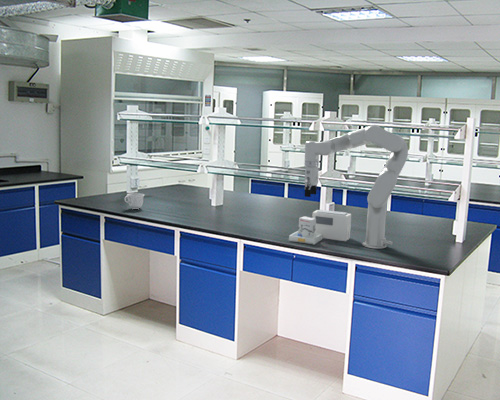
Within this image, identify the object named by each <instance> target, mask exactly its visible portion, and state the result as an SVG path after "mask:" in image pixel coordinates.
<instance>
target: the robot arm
mask: <svg viewBox="0 0 500 400" xmlns="http://www.w3.org/2000/svg"><path fill="white" fill-rule="evenodd" d="M368 144H374V145H376V146H378V147H380V148H382V149H385V150H386V151H389V152H390V155H389V156H388V159H387V160H386V164H385V165H384V166H383V168H382V170H381V171H380V172H379V173H378V176H377V177H376V179H375V181H374V184H373V185H372V188H371V189H370V191H369V192H368V195H367V199H366V200H367V203H368V204H367V216H366V230H365V232H366V233H365V241H362V243H361V244H362V246H363V247H364V248H368V249H375V250H376V249H377V250H378V249H379V250H381V249H385V248H386V249H387V245H389V246H392V245H393V241H391V240H387V238H386V237H385V233H386V220H387V219H386V218H387V207H388V199H389V198H390V196H391V194H392V192H393V190H394V189H395V187H396V185H397V182H398V178H399V177H400V174H401V173H402V170H403V168H404V166H405V164H406V162H407V160H408V155H409V149H408V145H407V142H406V141H405V140H404V138H403V137H402V136H401V135H400V134H396V133H392V132H390V131H387V130H386V129H383V128H382V127H381V126H379V125H378V124H371V125H369V126H366V127H363V128H360V129H357V130H353V131H349V132H347V133H345V134H343V135H339V136H337V137H334V138H331V139H327V140H324V141H317V140H307V141H305V143H304V167H305V168H304V169H305V170H304V171H305V172H304V197H306V198H310V197H312V196H311V195H317V185H319V167H320V166H319V165H320V164H319V163H320V160H319V159H320V156H329V155H331V154H334V153H337V152H340V151H344V150H348V149H356V148H359V147H363V146H365V145H368Z"/></svg>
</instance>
